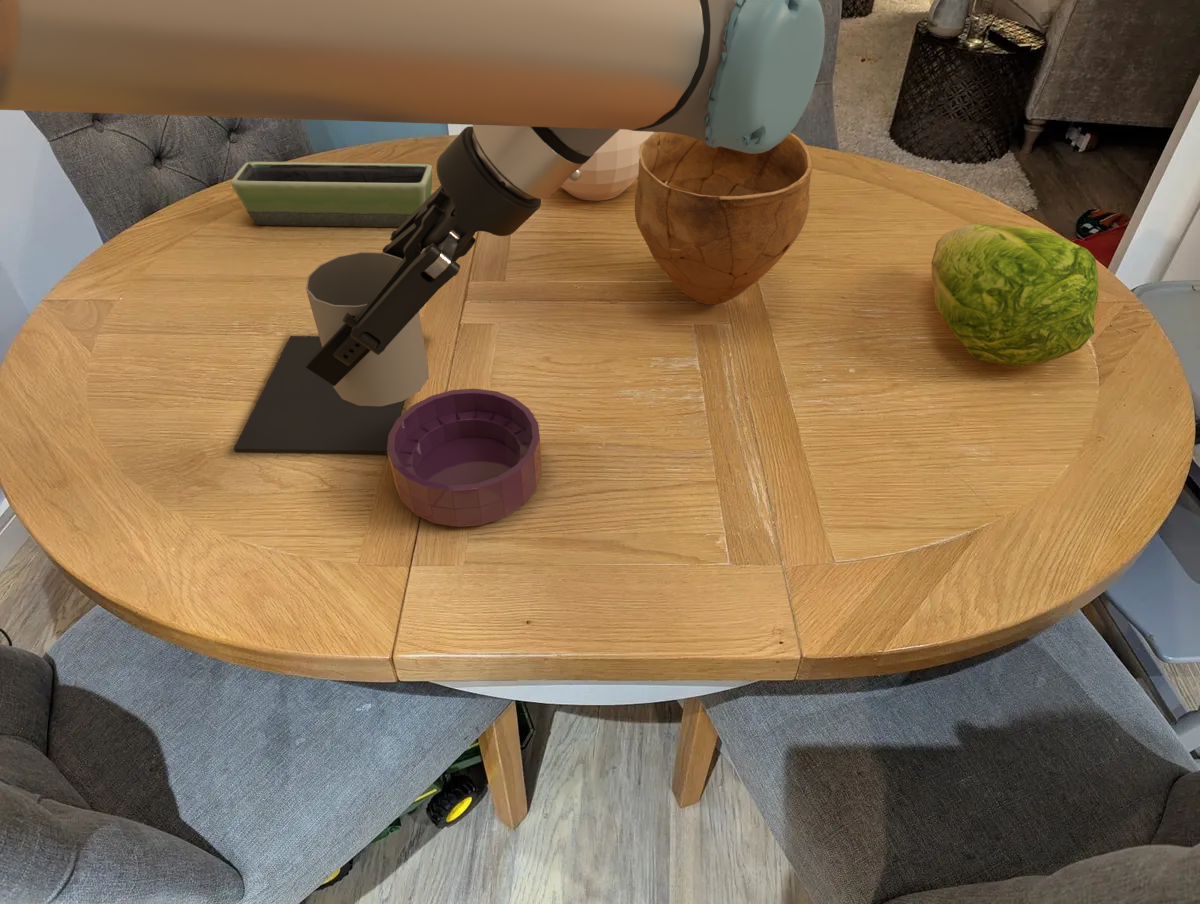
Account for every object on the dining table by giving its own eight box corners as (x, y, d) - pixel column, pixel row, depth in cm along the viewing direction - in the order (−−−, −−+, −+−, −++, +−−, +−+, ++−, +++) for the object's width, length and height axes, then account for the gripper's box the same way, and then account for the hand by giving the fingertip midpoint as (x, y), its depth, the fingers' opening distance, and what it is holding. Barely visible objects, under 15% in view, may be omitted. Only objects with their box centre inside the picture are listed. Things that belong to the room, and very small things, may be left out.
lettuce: (1007, 279, 111) (1023, 175, 102) (1116, 369, 91) (1148, 251, 82) (884, 303, 111) (890, 202, 102) (968, 398, 91) (984, 283, 83)
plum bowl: (453, 555, 74) (445, 514, 70) (369, 473, 81) (358, 433, 77) (570, 479, 81) (569, 438, 77) (483, 410, 88) (478, 370, 85)
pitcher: (522, 170, 133) (512, 2, 115) (628, 157, 137) (634, -8, 119) (552, 223, 120) (545, 42, 102) (668, 206, 124) (680, 29, 107)
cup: (445, 383, 71) (429, 285, 64) (357, 419, 68) (331, 318, 61) (403, 338, 76) (384, 242, 69) (319, 369, 73) (291, 271, 66)
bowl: (804, 346, 98) (839, 189, 84) (637, 350, 97) (645, 192, 83) (769, 258, 113) (794, 113, 99) (625, 261, 112) (629, 115, 98)
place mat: (389, 454, 83) (388, 450, 83) (234, 452, 83) (233, 448, 83) (422, 341, 98) (422, 337, 98) (291, 339, 98) (290, 335, 98)
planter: (439, 209, 123) (433, 162, 118) (431, 232, 117) (424, 184, 112) (259, 206, 123) (245, 160, 118) (243, 229, 118) (227, 182, 113)
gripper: (536, 272, 52) (342, 448, 64) (554, 140, 68) (396, 301, 79) (444, 193, 49) (255, 395, 60) (485, 73, 64) (329, 252, 75)
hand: (335, 341), depth 69 cm, fingers closed on cup, 8 cm apart
